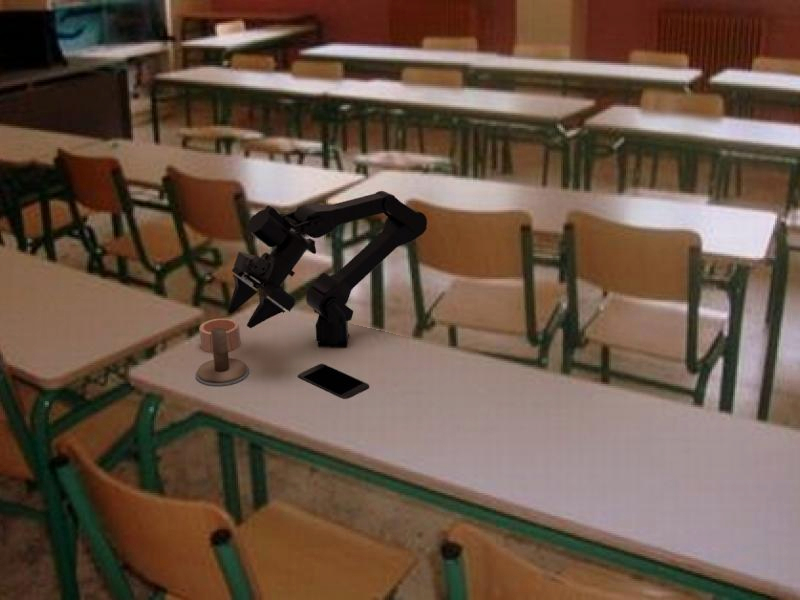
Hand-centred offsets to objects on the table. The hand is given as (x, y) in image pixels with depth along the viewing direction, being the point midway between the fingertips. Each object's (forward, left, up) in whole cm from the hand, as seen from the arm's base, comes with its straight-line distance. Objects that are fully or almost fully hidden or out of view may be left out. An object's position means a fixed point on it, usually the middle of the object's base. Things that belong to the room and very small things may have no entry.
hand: (238, 319), depth 198 cm
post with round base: (+4, +3, -11) cm, 12 cm away
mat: (+4, +3, -11) cm, 12 cm away
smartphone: (-20, +6, -12) cm, 24 cm away
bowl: (+7, -11, -11) cm, 17 cm away
